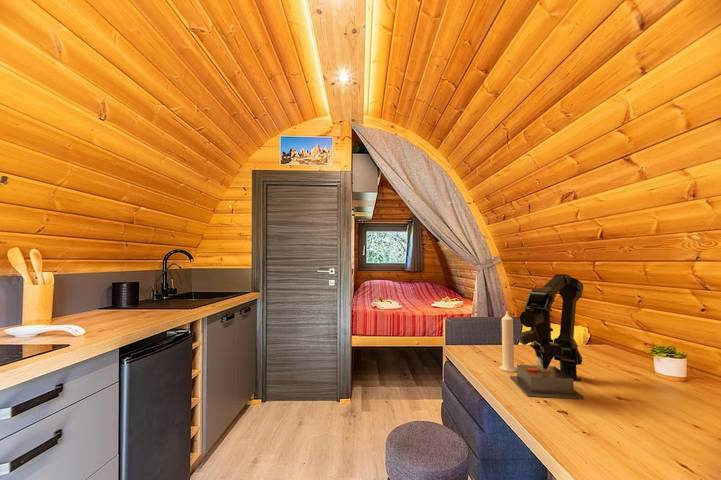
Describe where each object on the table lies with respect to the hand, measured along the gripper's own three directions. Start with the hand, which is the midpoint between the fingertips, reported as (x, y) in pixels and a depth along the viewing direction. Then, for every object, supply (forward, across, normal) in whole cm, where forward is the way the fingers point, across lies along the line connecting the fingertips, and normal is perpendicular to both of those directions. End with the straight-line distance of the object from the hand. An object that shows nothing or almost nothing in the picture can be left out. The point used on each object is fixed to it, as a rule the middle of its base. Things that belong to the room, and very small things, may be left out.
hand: (543, 367), depth 123 cm
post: (+6, 0, 0) cm, 6 cm away
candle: (+8, -20, -6) cm, 23 cm away
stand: (+8, 0, 0) cm, 8 cm away
